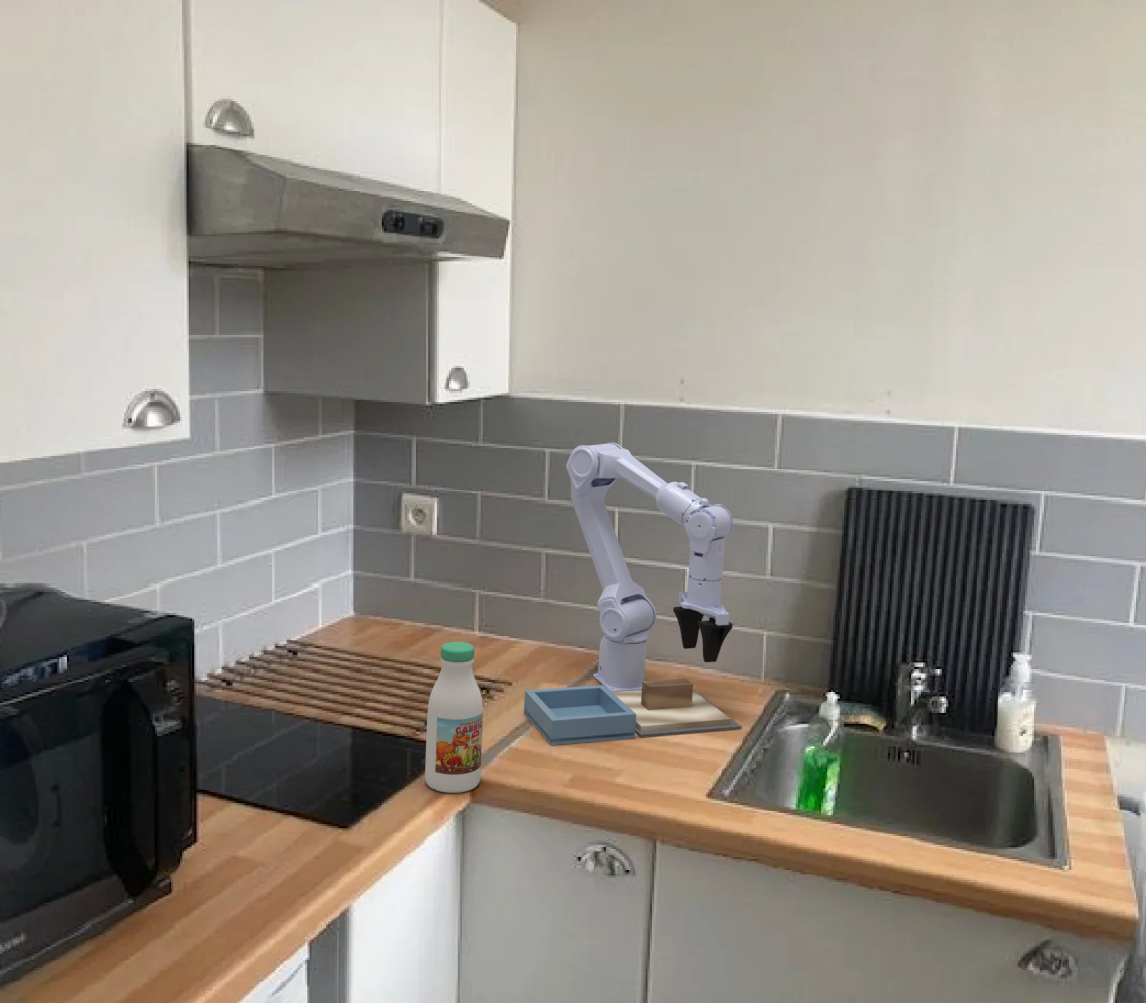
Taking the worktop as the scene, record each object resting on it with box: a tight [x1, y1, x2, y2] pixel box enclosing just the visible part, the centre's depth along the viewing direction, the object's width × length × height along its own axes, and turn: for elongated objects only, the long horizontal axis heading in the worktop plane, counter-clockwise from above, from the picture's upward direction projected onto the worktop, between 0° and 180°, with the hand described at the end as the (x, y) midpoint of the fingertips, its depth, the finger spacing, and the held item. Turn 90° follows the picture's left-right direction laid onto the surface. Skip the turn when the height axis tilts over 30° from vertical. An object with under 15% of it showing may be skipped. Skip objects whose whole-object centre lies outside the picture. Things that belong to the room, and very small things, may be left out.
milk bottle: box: [424, 641, 484, 794], centre depth 157 cm, size 8×8×20 cm
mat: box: [635, 689, 742, 739], centre depth 191 cm, size 18×18×1 cm
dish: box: [523, 684, 636, 746], centre depth 183 cm, size 14×14×4 cm
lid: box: [612, 677, 731, 732], centre depth 190 cm, size 16×16×5 cm
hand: (699, 654), depth 193 cm, fingers open, 7 cm apart
